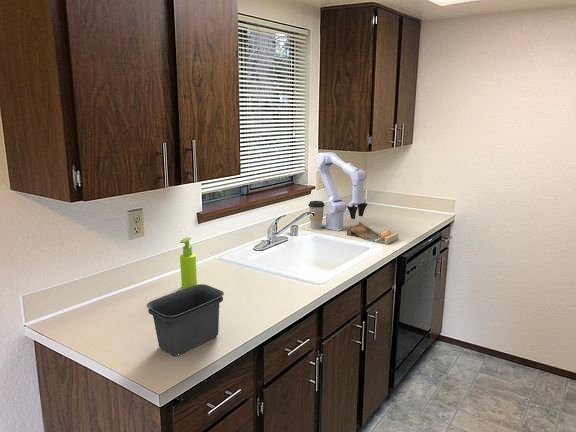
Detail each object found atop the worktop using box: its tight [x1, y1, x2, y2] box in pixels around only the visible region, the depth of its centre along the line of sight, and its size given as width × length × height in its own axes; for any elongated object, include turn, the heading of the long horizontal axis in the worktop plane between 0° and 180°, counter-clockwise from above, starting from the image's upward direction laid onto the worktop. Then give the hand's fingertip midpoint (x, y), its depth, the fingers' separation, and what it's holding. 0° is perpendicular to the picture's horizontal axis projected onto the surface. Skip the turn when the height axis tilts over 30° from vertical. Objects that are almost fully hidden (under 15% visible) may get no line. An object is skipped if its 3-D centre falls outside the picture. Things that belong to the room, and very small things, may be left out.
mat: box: [363, 232, 399, 246], centre depth 244 cm, size 14×12×3 cm
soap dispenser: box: [179, 237, 198, 290], centre depth 179 cm, size 6×7×20 cm
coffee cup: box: [307, 200, 326, 230], centre depth 265 cm, size 9×9×15 cm
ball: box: [380, 230, 392, 240], centre depth 242 cm, size 5×5×5 cm
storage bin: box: [146, 283, 225, 357], centre depth 140 cm, size 21×16×14 cm
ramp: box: [346, 222, 379, 240], centre depth 251 cm, size 14×10×7 cm
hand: (356, 217), depth 252 cm, fingers open, 7 cm apart
